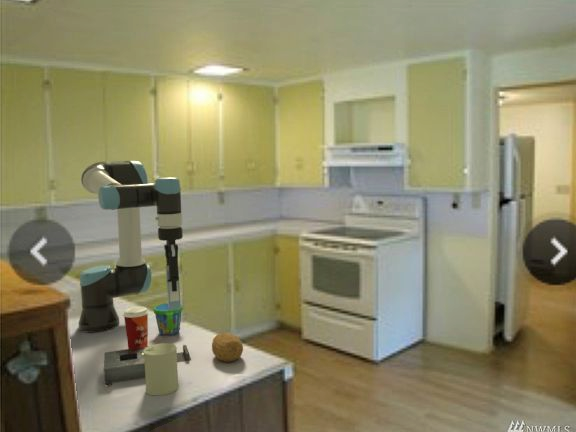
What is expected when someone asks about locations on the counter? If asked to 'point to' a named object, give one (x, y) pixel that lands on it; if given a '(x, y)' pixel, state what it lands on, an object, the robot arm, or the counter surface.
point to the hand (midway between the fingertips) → (173, 298)
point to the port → (124, 365)
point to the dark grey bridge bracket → (183, 355)
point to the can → (161, 369)
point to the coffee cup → (136, 326)
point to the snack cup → (167, 319)
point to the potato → (227, 347)
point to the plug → (174, 304)
